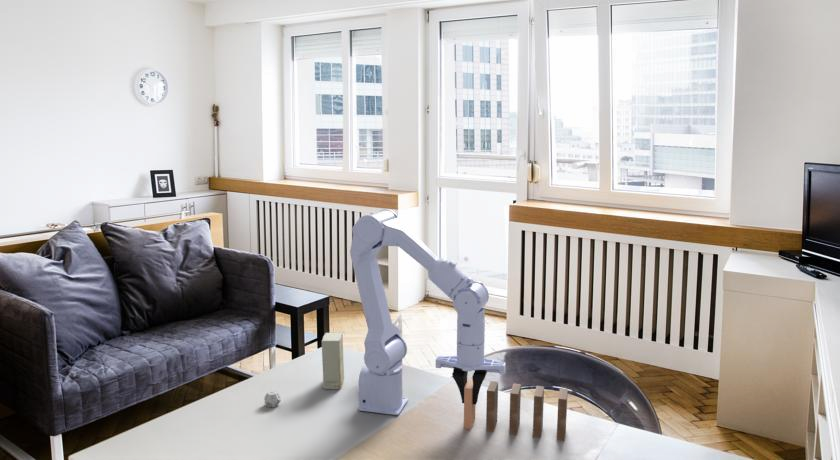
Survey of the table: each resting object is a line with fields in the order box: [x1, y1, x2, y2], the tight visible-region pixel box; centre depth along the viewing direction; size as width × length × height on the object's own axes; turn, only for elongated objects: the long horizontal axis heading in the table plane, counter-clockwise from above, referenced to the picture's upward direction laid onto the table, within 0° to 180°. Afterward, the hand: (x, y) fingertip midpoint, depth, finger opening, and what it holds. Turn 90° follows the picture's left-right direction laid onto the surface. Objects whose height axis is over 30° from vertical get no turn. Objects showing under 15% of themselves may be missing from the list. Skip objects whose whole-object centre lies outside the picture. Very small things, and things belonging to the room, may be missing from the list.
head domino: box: [463, 378, 477, 430], centre depth 141 cm, size 2×5×9 cm, turn 166°
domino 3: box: [532, 385, 545, 439], centre depth 137 cm, size 2×5×9 cm, turn 165°
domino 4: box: [556, 387, 569, 442], centre depth 136 cm, size 2×5×9 cm, turn 165°
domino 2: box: [508, 382, 522, 436], centre depth 139 cm, size 2×5×9 cm, turn 165°
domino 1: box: [485, 380, 499, 433], centre depth 140 cm, size 2×5×9 cm, turn 165°
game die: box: [263, 390, 282, 408], centre depth 150 cm, size 4×4×3 cm
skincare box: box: [321, 332, 345, 390], centre depth 160 cm, size 6×4×12 cm
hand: (469, 402), depth 141 cm, fingers closed on head domino, 2 cm apart
